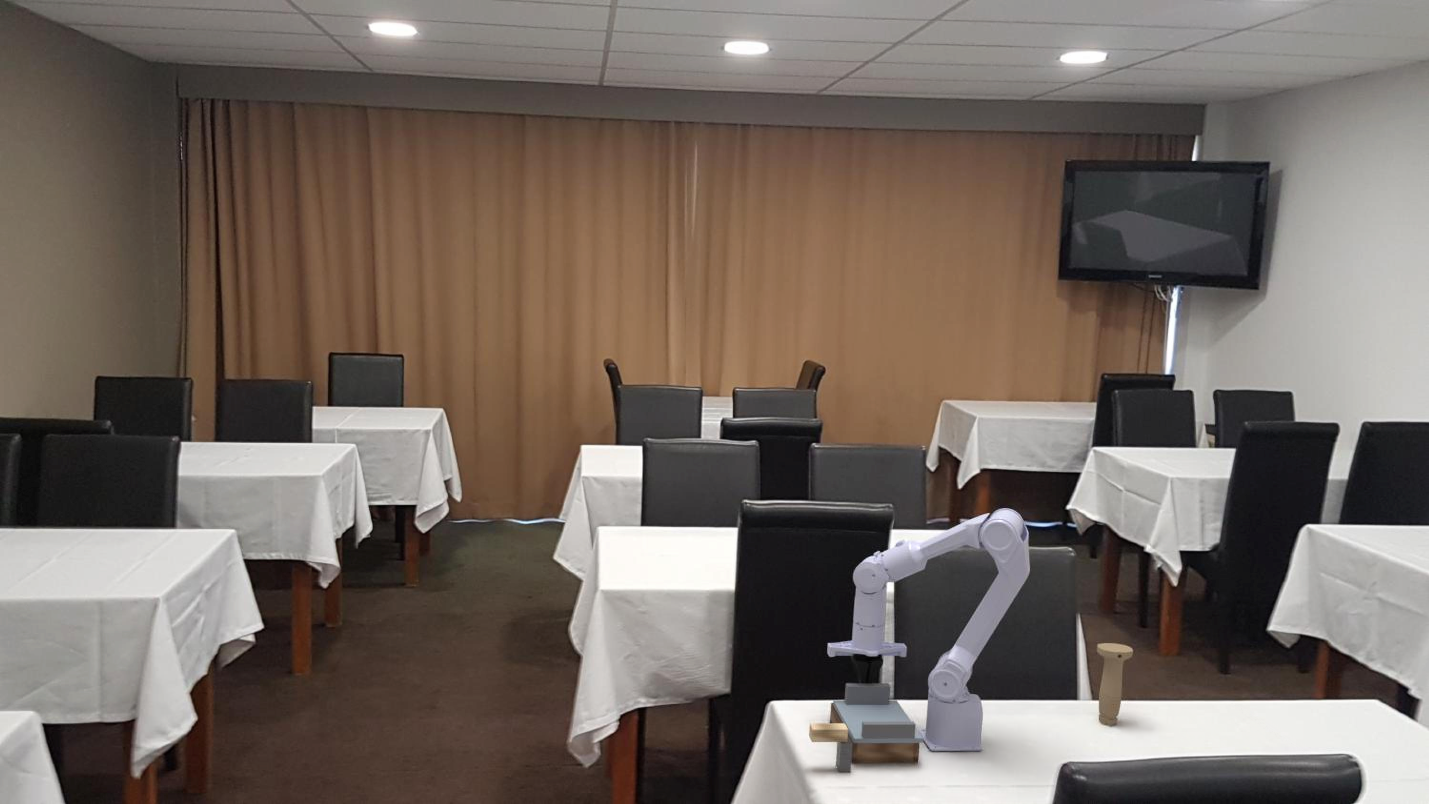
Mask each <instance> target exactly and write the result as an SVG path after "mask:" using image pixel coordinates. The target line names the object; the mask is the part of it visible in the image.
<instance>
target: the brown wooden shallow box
mask: <svg viewBox="0 0 1429 804" xmlns="http://www.w3.org/2000/svg"><path fill="white" fill-rule="evenodd" d="M829 716H830V717H829V723H843V722H842V720H841V718H840V716H839V715H838V713H837V711H836V709H835V707H834V705H833V702H831V703H830V714H829ZM848 737H850V739H851V741H852V743H853V745H852V759H851V764H906V763H907V764H908V763H909V764H910V763H911V764H914V763H915V764H916V763H917V764H919V757H920V745H921V743H854V742H853V740H852V738H851V736H850V735H849V733H848Z"/></svg>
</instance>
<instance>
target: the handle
mask: <svg viewBox="0 0 1429 804" xmlns="http://www.w3.org/2000/svg"><path fill="white" fill-rule="evenodd" d="M1096 653H1097V654H1098V655H1100V656H1101V657H1102V658H1103V660H1104V661H1103V663H1104V664H1103V668H1102V669H1103V670H1102V675H1101V682H1100V688H1099V694H1098V713H1099V714H1098V721H1099V722H1100V723H1101V724H1102V725H1106V726H1109V727H1111V726H1115V725H1117V723H1118V719H1119V718H1118V716H1119V713H1120V709H1121V703H1122V693H1123V684H1122V683H1123V670H1124V669H1123V668H1124V667H1123V666H1124V662H1125V661H1126V660H1129V659H1131V658H1133V654H1134V650H1133V648H1132V647H1131V646H1128V645H1126V644H1121V643H1120V644H1119V643H1112V642H1109V643H1108V642H1106V643H1105V642H1104V643H1097V646H1096ZM1114 724H1115V725H1114Z"/></svg>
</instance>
